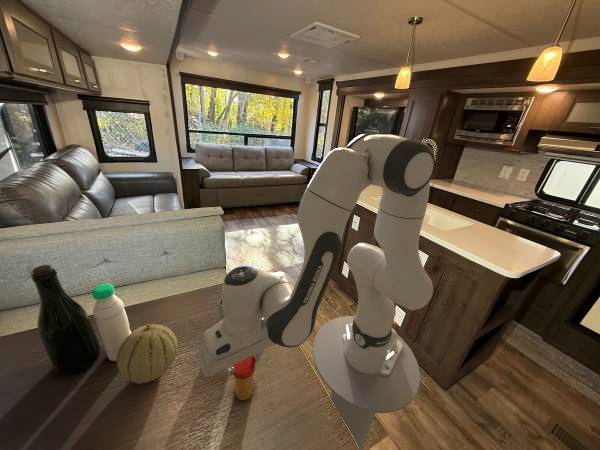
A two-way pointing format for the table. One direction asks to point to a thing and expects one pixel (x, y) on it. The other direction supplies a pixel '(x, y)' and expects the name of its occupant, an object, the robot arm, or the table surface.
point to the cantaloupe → (147, 353)
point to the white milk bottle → (110, 319)
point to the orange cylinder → (244, 387)
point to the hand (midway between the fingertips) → (243, 366)
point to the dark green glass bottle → (63, 325)
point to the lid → (244, 368)
